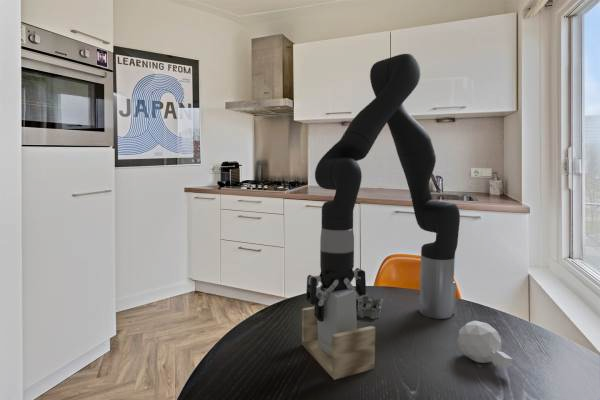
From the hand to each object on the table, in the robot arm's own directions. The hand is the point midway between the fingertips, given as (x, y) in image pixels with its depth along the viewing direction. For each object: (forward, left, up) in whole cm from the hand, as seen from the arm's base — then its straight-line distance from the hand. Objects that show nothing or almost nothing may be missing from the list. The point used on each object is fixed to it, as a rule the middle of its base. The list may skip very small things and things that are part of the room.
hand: (336, 317), depth 84 cm
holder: (0, 0, -9) cm, 9 cm away
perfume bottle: (-28, +16, -10) cm, 34 cm away
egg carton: (-22, -18, -10) cm, 30 cm away
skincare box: (0, 0, -8) cm, 8 cm away
